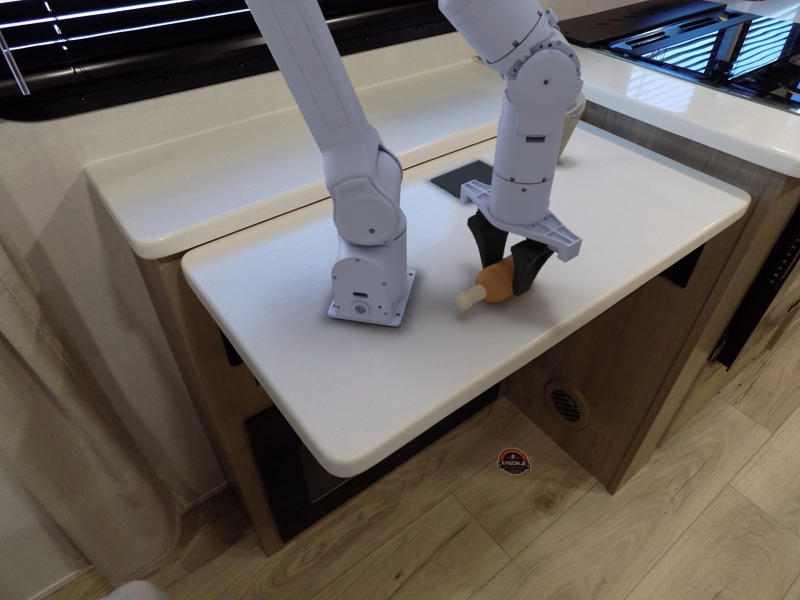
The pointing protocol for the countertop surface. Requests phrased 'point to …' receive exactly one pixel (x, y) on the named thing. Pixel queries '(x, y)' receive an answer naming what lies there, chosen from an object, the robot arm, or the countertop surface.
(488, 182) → the mat
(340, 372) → the countertop surface
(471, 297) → the drumstick
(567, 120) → the ice cream cone
